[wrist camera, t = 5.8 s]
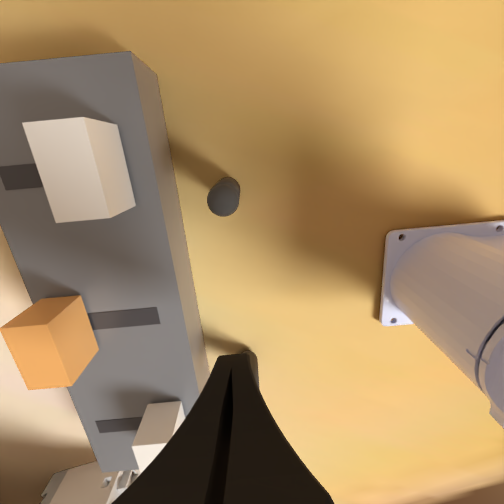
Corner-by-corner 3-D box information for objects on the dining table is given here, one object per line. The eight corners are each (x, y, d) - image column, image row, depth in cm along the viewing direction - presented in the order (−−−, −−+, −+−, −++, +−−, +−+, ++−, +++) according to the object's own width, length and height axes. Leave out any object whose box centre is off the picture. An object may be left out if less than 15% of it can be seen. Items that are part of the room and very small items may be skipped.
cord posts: (239, 175, 18) (237, 184, 13) (257, 360, 24) (261, 425, 18) (215, 177, 18) (202, 187, 13) (239, 362, 24) (237, 427, 18)
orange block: (80, 295, 16) (46, 324, 14) (99, 349, 18) (71, 386, 15) (41, 298, 17) (-1, 328, 14) (62, 352, 18) (28, 390, 15)
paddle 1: (117, 124, 13) (83, 116, 11) (136, 205, 15) (110, 218, 12) (68, 129, 13) (21, 122, 11) (91, 209, 15) (55, 222, 12)
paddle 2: (181, 400, 20) (170, 442, 17) (190, 440, 21) (182, 485, 18) (147, 404, 20) (131, 446, 17) (159, 443, 21) (146, 488, 18)
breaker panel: (156, 74, 16) (129, 50, 13) (217, 417, 26) (213, 463, 22) (7, 88, 16) (-65, 69, 13) (122, 426, 26) (101, 473, 22)
